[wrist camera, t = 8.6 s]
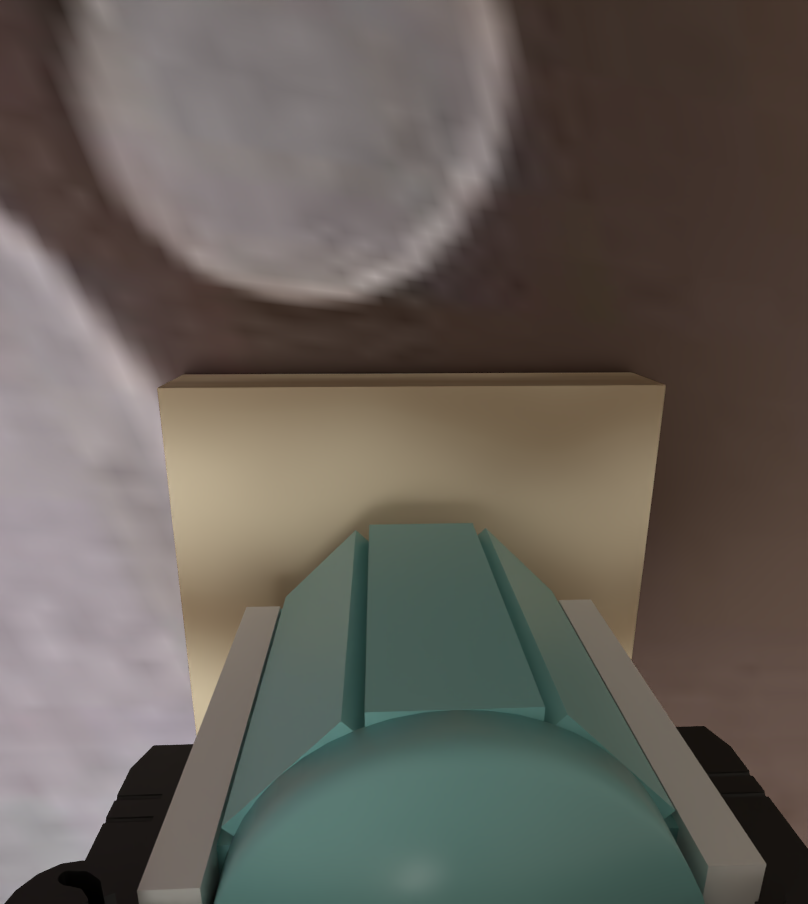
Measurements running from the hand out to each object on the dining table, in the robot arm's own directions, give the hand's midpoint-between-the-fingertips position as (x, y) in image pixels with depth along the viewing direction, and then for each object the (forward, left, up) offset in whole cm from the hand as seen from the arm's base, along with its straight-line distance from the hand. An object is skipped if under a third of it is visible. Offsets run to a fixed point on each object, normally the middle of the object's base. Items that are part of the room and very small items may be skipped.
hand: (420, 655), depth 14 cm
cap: (0, 0, 0) cm, 0 cm away
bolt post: (0, 0, -4) cm, 4 cm away
